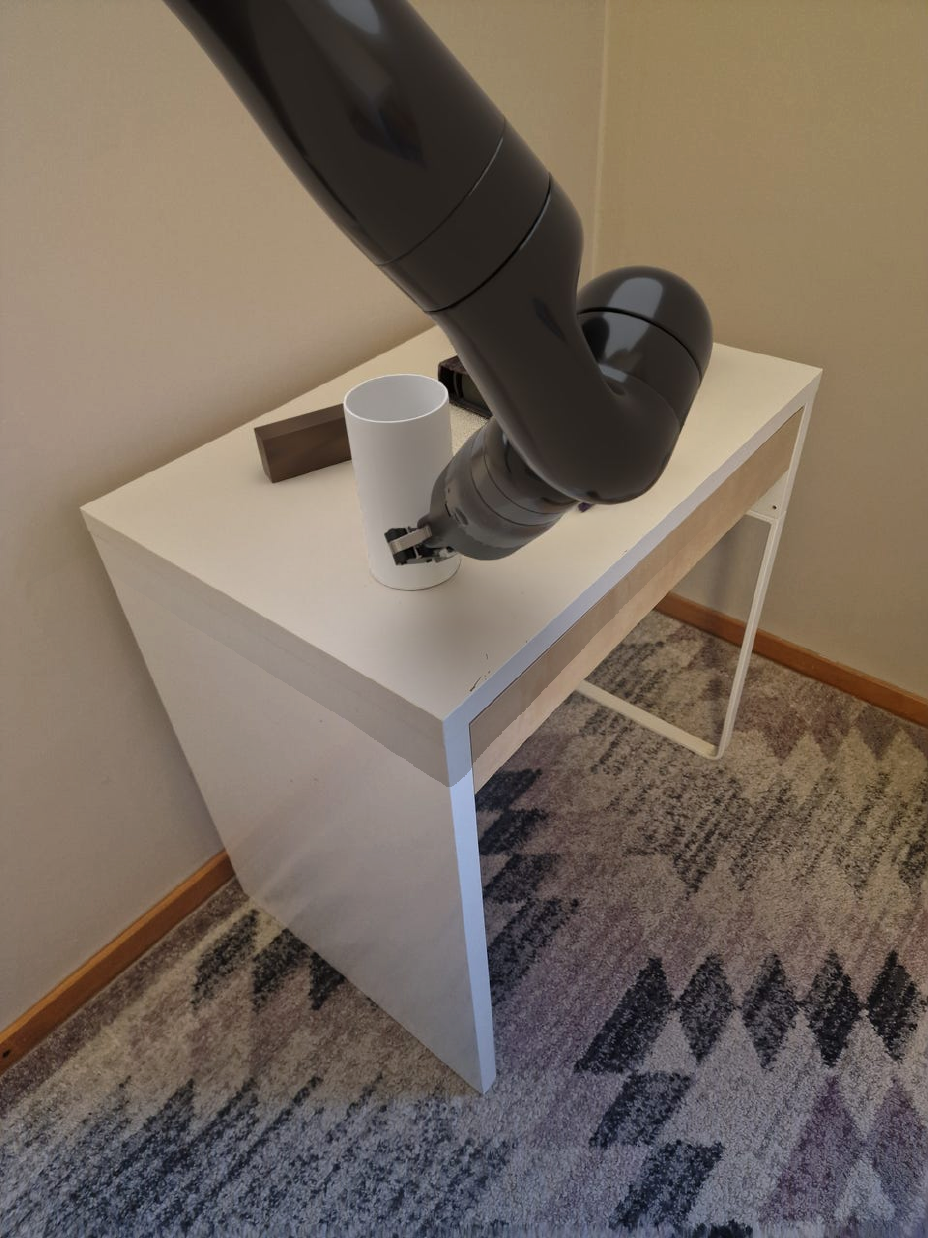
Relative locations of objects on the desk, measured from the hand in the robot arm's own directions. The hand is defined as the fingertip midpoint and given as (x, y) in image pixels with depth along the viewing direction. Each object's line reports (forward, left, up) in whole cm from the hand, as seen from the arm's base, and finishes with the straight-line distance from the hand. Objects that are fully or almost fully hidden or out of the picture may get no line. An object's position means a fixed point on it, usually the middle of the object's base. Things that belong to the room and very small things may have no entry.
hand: (438, 549), depth 71 cm
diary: (+20, +35, -4) cm, 40 cm away
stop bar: (-9, +25, -4) cm, 26 cm away
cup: (-2, +4, -4) cm, 6 cm away
